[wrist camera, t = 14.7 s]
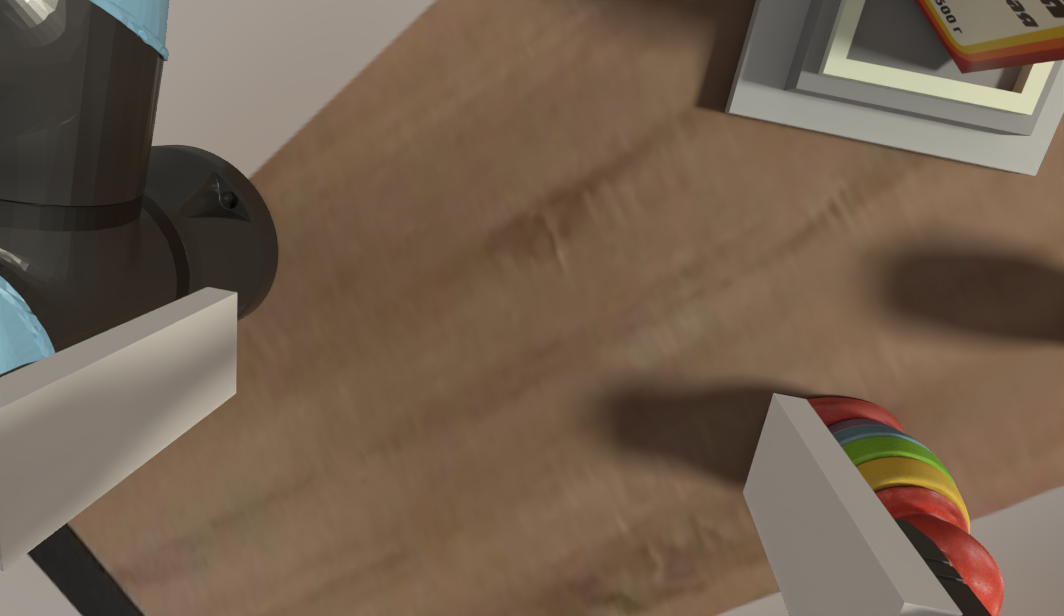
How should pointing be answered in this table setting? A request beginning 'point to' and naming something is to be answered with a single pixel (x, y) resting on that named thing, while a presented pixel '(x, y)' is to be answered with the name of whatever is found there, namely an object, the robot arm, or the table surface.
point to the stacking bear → (912, 487)
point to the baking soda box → (997, 31)
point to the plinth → (891, 84)
